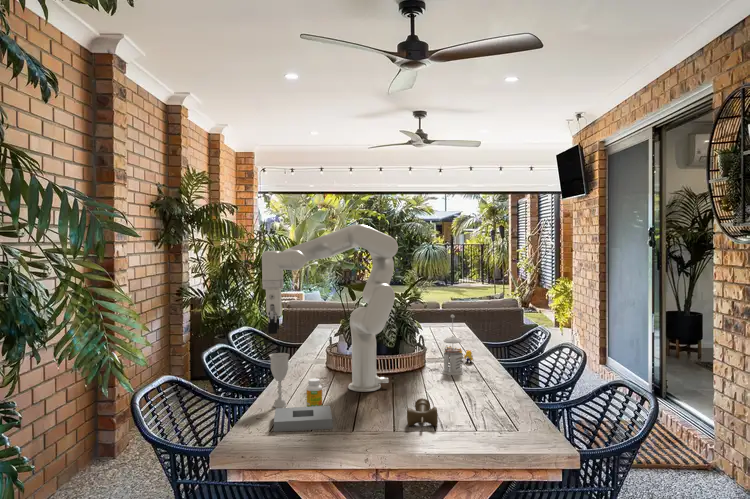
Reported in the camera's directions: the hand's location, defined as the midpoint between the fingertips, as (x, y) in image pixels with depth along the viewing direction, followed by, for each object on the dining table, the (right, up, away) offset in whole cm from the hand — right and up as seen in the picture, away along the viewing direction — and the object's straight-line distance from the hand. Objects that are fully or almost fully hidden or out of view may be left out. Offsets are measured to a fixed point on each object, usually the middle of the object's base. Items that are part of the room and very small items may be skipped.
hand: (274, 331), depth 212 cm
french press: (+70, -23, +38) cm, 83 cm away
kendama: (+52, -26, -26) cm, 64 cm away
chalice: (+3, -25, -7) cm, 27 cm away
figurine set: (+76, -23, +60) cm, 100 cm away
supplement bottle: (+16, -25, -10) cm, 31 cm away
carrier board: (+14, -26, -26) cm, 39 cm away
